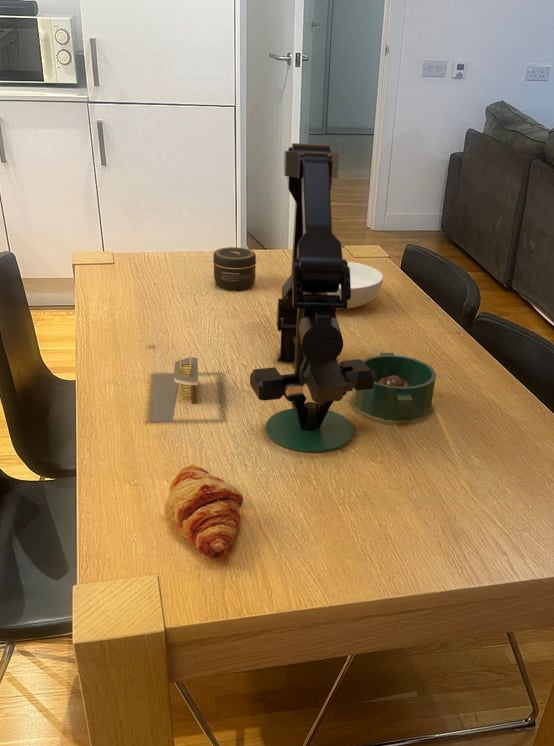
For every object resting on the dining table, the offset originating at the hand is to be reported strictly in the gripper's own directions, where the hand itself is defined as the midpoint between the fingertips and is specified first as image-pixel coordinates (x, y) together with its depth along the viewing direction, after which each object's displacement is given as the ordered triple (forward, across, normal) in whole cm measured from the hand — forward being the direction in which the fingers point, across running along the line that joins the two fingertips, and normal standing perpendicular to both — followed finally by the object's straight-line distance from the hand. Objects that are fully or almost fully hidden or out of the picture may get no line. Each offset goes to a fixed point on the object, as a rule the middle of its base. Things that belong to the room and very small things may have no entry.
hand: (309, 427), depth 122 cm
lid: (0, 0, 0) cm, 0 cm away
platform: (+1, -16, +18) cm, 24 cm away
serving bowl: (+1, +26, +57) cm, 62 cm away
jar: (+1, +6, +73) cm, 73 cm away
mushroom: (+1, +17, +6) cm, 19 cm away
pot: (+1, +17, +6) cm, 18 cm away
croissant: (+1, -21, -19) cm, 29 cm away
